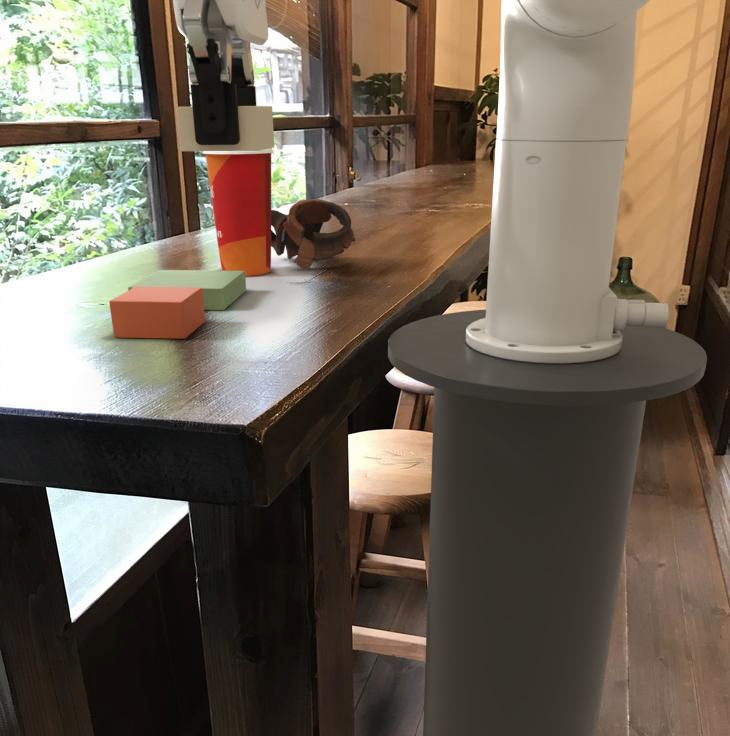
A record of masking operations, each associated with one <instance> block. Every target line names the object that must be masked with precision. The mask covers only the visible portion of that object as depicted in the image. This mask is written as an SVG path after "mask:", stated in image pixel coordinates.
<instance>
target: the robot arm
mask: <svg viewBox="0 0 730 736" xmlns="http://www.w3.org/2000/svg"><path fill="white" fill-rule="evenodd" d="M266 2H267V1H266V0H172V6H173V12H174V17H175V23H176V27H177V29H178V31H179V33H180V34H182V35H183V36H184V37H185V38H187V40H188V43H187V44H186V49H188V50H187V54H188V76H189V81H190V95H191V96H190V97H191V107H192V108H193V119H194V130H195V140H196V142H197V143H198V144H199V145H235V144H238V143H239V141H240V133H239V118H238V106H258V105H257V92H256V91H257V90H256V88H257V87H256V85H255V72H254V65H253V64H254V63H253V56H252V48H251V44H254V45H256V46H264V45H265V43H267V41H268V39H269V24H268V14H267V13H268V12H267V3H266ZM649 2H651V0H501V5H500V6H501V9H500V13H501V14H500V21H501V22H500V23H501V24H500V28H501V29H500V60H499V62H500V63H499V83H498V84H499V85H498V86H499V87H498V104H497V105H498V106H497V122H496V123H497V124H496V139H495V151H494V166H493V167H494V169H493V182H492V183H493V185H492V199H491V200H492V201H491V202H492V203H491V205H492V206H491V218H490V233H489V234H490V236H489V251H488V253H489V254H488V268H487V269H488V271H487V285H486V286H487V287H486V302H485V303H486V304H485V310H486V318H483V319H480V320H477V321H475V322H473V323H471V324H470V325H469V326H468V327H467V329H466V342H467V344H468V345H469V346H470V347H471V348H473V349H474V350H476V351H478V352H480V353H483V354H486V355H489V356H492V357H496V358H501V359H505V360H511V361H518V362H527V363H539V364H574V363H585V362H592V361H597V360H602V359H605V358H608V357H611V356H613V355H615V354H616V353H618V352H619V351H620V349H621V346H622V338H623V336H622V334H621V332H620V331H624V329H625V327H626V326H641V327H650V328H667V327H666V326H667V325H668V321H669V316H670V308H669V304H668V302H646V301H645V299H627V298H618V296H617V294H615V292H614V291H613V290H612V289H611V288H610V279H611V271H612V265H613V264H612V263H613V256H614V255H613V254H614V246H615V238H616V232H617V231H616V229H617V221H618V214H619V207H620V206H619V205H620V196H621V188H622V182H623V181H622V180H623V172H624V164H625V157H626V146H627V140H628V136H629V129H630V128H629V127H630V119H631V110H632V101H633V89H634V75H635V57H636V32H637V31H636V30H637V18H638V17H637V15H638V11H639V10H641V9H642V8H643V7H644V6H645V5H647V4H648V3H649Z"/></svg>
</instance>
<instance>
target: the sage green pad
mask: <svg viewBox="0 0 730 736" xmlns="http://www.w3.org/2000/svg"><path fill="white" fill-rule="evenodd" d="M136 286H137V287H201V288H202V291H203V302H204V311H224V310H226V309H227V308H228V307H229V306H230V305H231V304H233V303H234V302H235V301H236V300H237V299H238V298H239V297H241V296H242V295H243V294H244V293H245V292H246V291H247V282H246V276H245V271H222V270H207V269H205V270H203V269H202V270H200V269H199V270H198V269H159V270H157V271H155V272H153V273H151V274H150V275H147V276H146V277H144V278H142V279H141V280H139V281H137V282H135V283H133V284H131V285H130V286H128V287H127V291H128V290H130V289H132V288H134V287H136Z"/></svg>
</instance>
